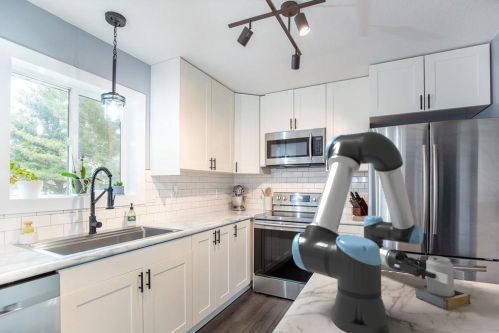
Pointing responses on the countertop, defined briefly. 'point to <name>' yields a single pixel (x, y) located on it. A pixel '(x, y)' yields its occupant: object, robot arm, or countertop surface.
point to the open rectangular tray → (444, 299)
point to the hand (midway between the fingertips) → (455, 277)
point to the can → (446, 268)
